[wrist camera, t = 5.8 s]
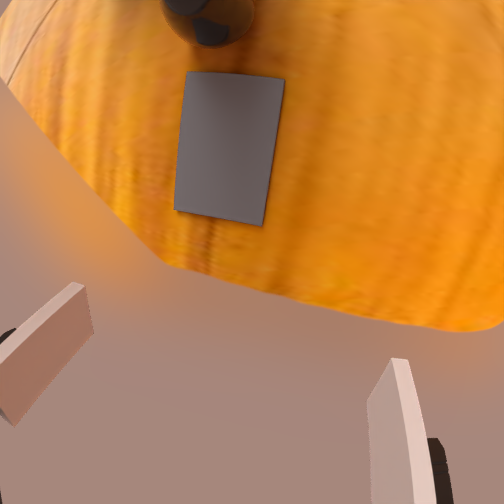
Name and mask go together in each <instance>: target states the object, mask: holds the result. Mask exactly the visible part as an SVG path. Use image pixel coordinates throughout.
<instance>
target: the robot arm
mask: <svg viewBox="0 0 504 504" xmlns="http://www.w3.org/2000/svg"><path fill="white" fill-rule="evenodd" d="M93 334H94V330H93V326H92V321H91V316H90V311H89V305H88V300H87V294H86V288H85V286H84V285H81V284H78V283H76V282H72V283H70V284H69V285H68V286H67V287H66V288H64V289H63V290H62V291H61V292H59V293H58V294H57V295H56V296H55V297H53V298H52V299H51V300H50V301H49V302H48V303H46V304H45V305H44V306H43V307H42V308H41V309H39V310H38V311H37V312H36V313H35V314H33V315H32V316H31V317H30V318H29V319H28V320H27V321H25V322H24V323H23V324H22V325H21V326H20V327H19V328H18V329H16V328H14V329H11V330H9V331H7V332H5V333H4V334H3V335H2V336H1V337H0V415H1V416H2V418H4V419H5V420H6V421H7V422H8V423H10V424H11V425H12V426H13V427H15V426H16V425H17V424H18V422H19V421H20V420H21V418H22V417H23V416H24V415H25V413H26V412H27V411H28V410H29V408H30V407H31V406H32V405H33V403H34V402H35V401H36V400H37V398H38V397H39V396H40V395H41V394H42V392H43V391H44V390H45V389H46V388H47V386H48V385H49V384H50V383H51V382H52V380H53V379H54V378H55V377H56V376H57V374H58V373H59V372H60V371H61V370H62V368H63V367H64V366H65V365H66V364H67V363H68V362H69V361H70V359H71V358H72V357H73V356H74V355H75V354H76V353H77V351H78V350H79V349H80V348H81V347H82V346H83V344H85V342H86V341H87V340H88V339H89V338H90V337H91V336H92V335H93ZM366 403H367V415H368V426H369V427H368V428H369V443H370V464H371V504H454V503H453V495H452V488H451V482H450V476H449V473H448V466H447V464H446V462H447V460H446V455H445V450H444V448H443V446H442V445H441V443H440V441H439V440H438V438H426V433H425V428H424V423H423V418H422V414H421V409H420V405H419V401H418V397H417V393H416V389H415V385H414V381H413V377H412V373H411V370H410V366H409V363H408V360H406V359H397V358H391V359H390V361H389V363H388V365H387V367H386V368H385V370H384V372H383V374H382V376H381V377H380V379H379V381H378V382H377V384H376V386H375V388H374V389H373V391H372V392H371V394H370V396H369V397H368V399H367V400H366ZM0 504H2V499H1V493H0Z"/></svg>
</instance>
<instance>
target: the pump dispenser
mask: <svg viewBox="0 0 504 504" xmlns="http://www.w3.org/2000/svg"><path fill="white" fill-rule="evenodd" d="M159 3H160V7H161V10H162V13H163V16H164V18H165V20H166V21H167V23H168V25H169V26H170V27H171V29H172V30H173V31H174V32H175V33H176V34H177V35H178V36H179V37H180V38H181V39H183V40H184V41H185V42H187V43H189V44H190V45H193V46H195V47H198V48H204V49H214V48H220V47H224V46H226V45H229V44H231V43H233V42H235V41H236V40H238V39H239V38H240V37H241V36H243V35H244V34H245V32H246V31H247V30H248V29H249V27H250V25H251V23H252V21H253V18H254V3H253V0H159Z"/></svg>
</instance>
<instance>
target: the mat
mask: <svg viewBox="0 0 504 504" xmlns="http://www.w3.org/2000/svg"><path fill="white" fill-rule="evenodd" d="M284 85H285V79H278V78H270V77H262V76H253V75H243V74H230V73H215V72H187V76H186V83H185V90H184V98H183V106H182V115H181V124H180V134H179V144H178V156H177V168H176V181H175V197H174V210H178V211H183V212H189V213H194V214H200V215H205V216H211V217H216V218H221V219H227V220H232V221H237V222H242V223H247V224H253V225H258V226H262V224H263V219H264V212H265V206H266V200H267V193H268V187H269V181H270V175H271V168H272V162H273V156H274V149H275V143H276V136H277V130H278V124H279V117H280V111H281V104H282V98H283V91H284Z"/></svg>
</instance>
